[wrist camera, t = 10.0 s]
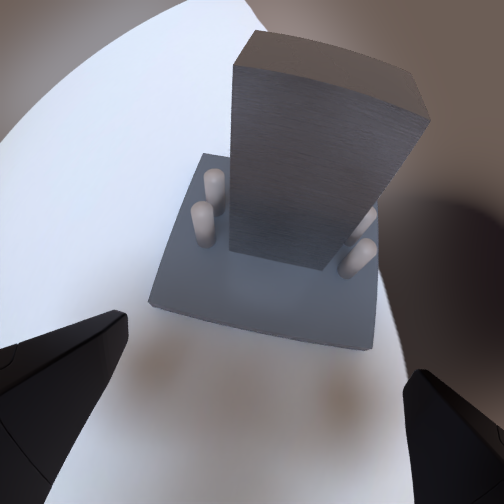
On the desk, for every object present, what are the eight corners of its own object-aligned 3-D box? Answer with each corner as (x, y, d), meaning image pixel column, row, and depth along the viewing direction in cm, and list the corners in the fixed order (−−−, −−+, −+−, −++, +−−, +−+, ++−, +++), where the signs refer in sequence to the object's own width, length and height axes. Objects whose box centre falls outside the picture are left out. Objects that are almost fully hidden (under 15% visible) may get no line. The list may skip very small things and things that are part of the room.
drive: (322, 271, 18) (430, 120, 7) (229, 250, 18) (232, 65, 7) (326, 225, 19) (409, 70, 8) (241, 206, 20) (256, 28, 8)
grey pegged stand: (364, 350, 17) (401, 340, 13) (152, 306, 18) (129, 283, 13) (371, 201, 22) (395, 165, 18) (204, 163, 23) (200, 119, 18)
